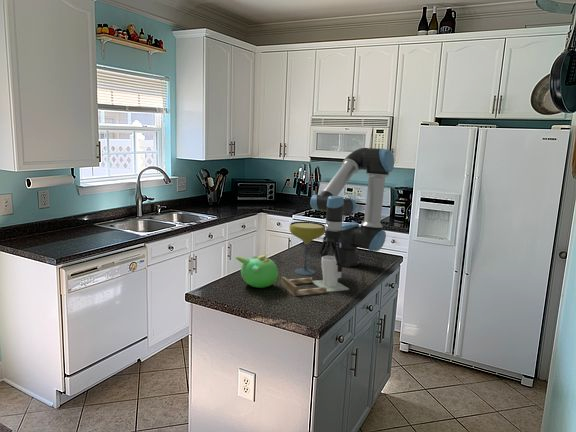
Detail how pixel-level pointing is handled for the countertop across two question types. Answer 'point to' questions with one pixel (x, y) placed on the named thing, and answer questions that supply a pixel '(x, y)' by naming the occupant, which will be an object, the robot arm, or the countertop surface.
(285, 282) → the wooden u-shaped frame
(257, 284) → the toy bird
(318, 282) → the pad
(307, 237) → the cocktail glass
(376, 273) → the countertop surface
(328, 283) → the foam cup
